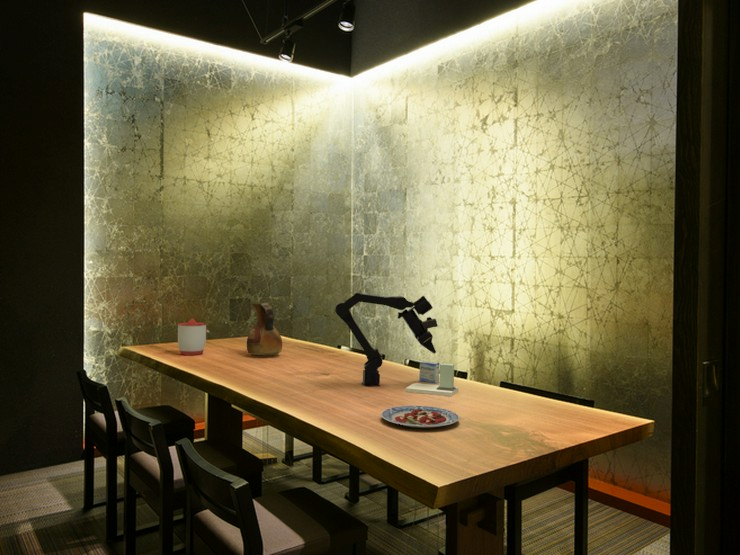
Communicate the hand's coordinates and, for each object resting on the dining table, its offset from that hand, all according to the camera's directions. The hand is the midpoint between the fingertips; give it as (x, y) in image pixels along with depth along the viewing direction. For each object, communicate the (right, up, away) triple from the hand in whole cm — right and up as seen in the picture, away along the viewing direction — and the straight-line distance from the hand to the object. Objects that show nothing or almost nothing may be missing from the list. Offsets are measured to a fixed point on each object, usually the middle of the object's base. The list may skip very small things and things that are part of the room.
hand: (433, 351), depth 248 cm
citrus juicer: (-126, -11, +75) cm, 148 cm away
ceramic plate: (-11, -16, -57) cm, 60 cm away
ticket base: (-2, -15, -10) cm, 18 cm away
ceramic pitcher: (-86, -12, +74) cm, 114 cm away
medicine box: (-1, -15, +10) cm, 18 cm away
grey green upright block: (+4, -14, -13) cm, 19 cm away
